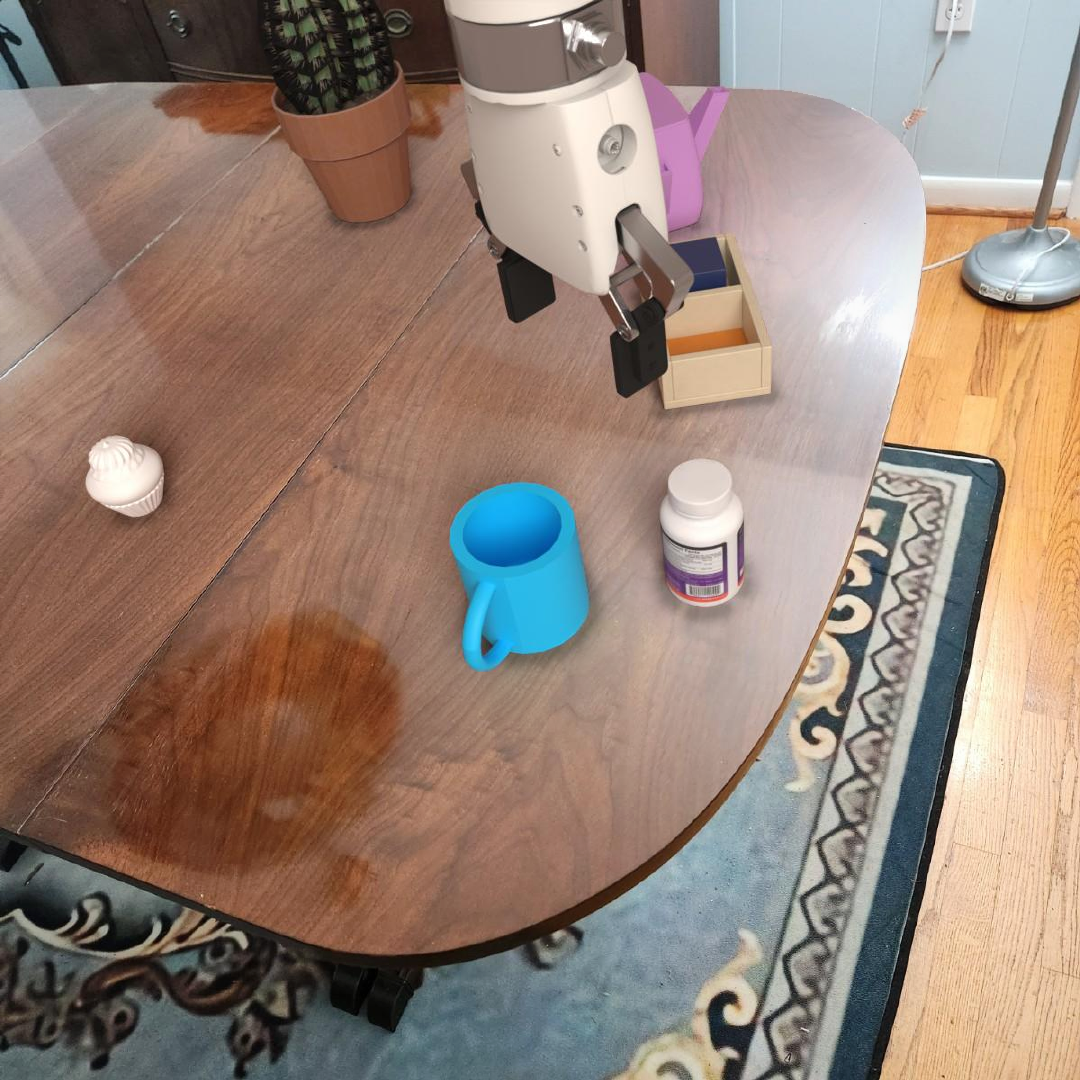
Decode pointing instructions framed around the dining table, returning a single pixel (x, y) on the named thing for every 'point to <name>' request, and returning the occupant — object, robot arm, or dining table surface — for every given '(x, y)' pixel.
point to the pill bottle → (702, 533)
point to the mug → (518, 572)
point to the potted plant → (340, 101)
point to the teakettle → (682, 146)
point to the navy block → (703, 263)
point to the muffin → (125, 476)
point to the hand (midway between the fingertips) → (585, 345)
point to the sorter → (717, 340)
